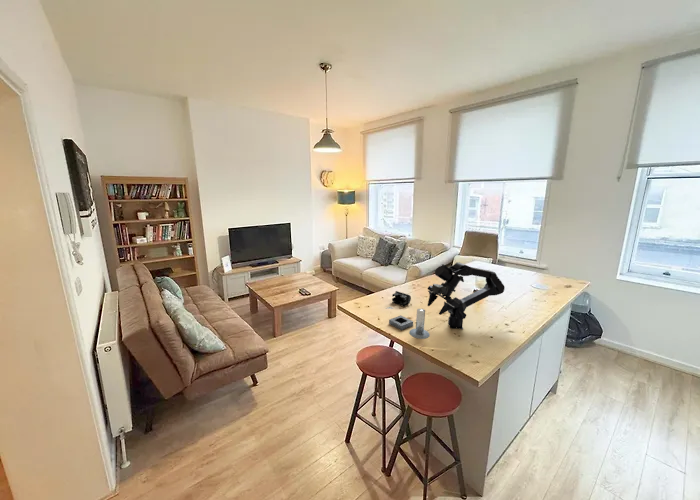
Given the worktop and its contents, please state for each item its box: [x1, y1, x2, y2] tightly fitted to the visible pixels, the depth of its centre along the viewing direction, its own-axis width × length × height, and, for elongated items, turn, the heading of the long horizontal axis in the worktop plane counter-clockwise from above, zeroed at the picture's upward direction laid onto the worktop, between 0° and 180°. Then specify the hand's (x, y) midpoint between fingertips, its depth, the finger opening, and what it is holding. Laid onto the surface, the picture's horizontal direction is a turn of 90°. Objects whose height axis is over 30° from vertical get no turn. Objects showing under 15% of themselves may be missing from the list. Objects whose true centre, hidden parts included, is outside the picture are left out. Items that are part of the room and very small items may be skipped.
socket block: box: [388, 315, 414, 331], centre depth 152 cm, size 9×9×3 cm
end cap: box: [391, 290, 412, 307], centre depth 182 cm, size 10×7×7 cm
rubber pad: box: [409, 328, 431, 340], centre depth 144 cm, size 10×10×1 cm
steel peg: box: [415, 308, 426, 335], centre depth 142 cm, size 4×4×12 cm
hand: (433, 310), depth 147 cm, fingers open, 9 cm apart
